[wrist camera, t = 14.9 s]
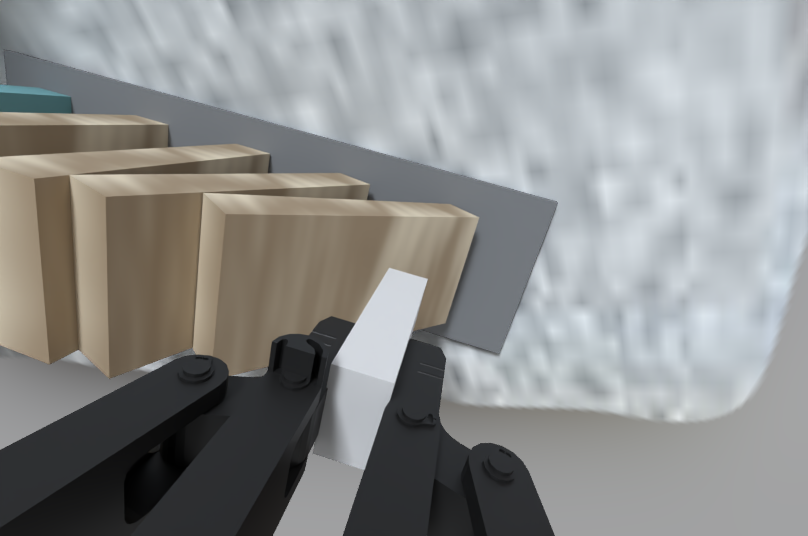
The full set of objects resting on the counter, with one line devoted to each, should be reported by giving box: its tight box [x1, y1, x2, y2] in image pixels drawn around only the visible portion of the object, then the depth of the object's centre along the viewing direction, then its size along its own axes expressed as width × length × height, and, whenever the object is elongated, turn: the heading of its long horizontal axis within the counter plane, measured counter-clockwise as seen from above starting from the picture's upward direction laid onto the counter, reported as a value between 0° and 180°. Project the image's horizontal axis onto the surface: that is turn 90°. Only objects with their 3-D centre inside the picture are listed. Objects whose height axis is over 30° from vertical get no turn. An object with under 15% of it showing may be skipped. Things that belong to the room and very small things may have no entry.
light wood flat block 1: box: [0, 112, 168, 157], centre depth 18 cm, size 2×6×12 cm, turn 166°
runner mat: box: [4, 50, 558, 354], centre depth 23 cm, size 31×9×1 cm, turn 76°
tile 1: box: [193, 193, 479, 376], centre depth 18 cm, size 2×6×12 cm
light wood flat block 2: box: [69, 173, 370, 379], centre depth 18 cm, size 2×6×12 cm, turn 167°
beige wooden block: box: [0, 144, 270, 364], centre depth 18 cm, size 2×6×12 cm, turn 166°
